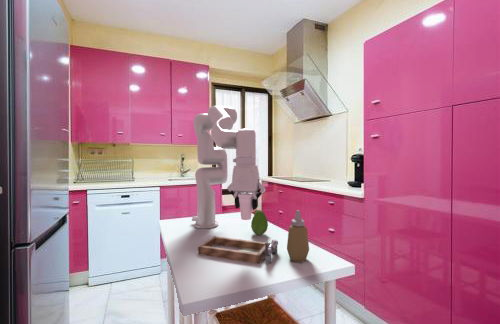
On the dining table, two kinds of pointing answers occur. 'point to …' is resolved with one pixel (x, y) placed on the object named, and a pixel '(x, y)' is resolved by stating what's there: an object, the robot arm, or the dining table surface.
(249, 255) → the bay
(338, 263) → the dining table surface
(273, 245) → the grey metal handle
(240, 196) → the smoothie
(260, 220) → the avocado
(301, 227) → the squeeze bottle
